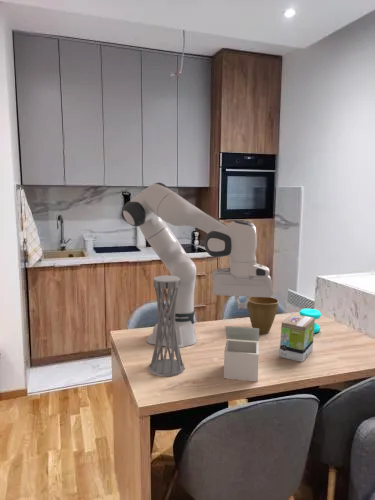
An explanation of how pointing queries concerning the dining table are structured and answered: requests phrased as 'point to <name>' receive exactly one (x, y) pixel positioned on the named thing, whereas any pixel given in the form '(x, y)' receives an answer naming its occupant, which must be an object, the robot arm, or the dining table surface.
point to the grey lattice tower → (165, 365)
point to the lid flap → (242, 333)
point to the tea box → (297, 337)
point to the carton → (241, 360)
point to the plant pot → (262, 312)
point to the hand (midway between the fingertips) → (242, 308)
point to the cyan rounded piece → (314, 314)
